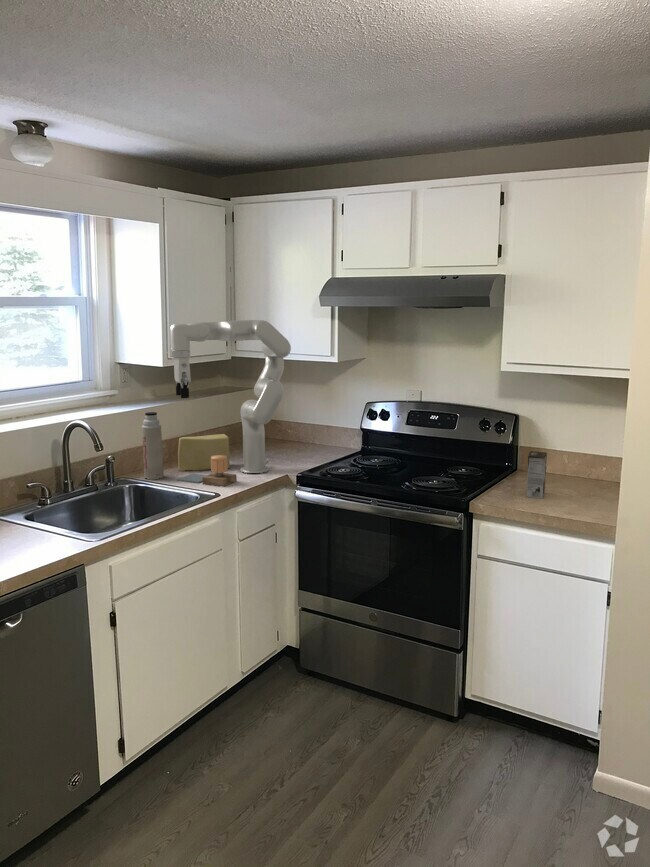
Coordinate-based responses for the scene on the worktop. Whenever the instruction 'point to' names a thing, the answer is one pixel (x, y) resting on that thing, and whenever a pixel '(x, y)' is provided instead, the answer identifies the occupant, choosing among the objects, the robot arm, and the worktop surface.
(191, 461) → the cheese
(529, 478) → the coffee box
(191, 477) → the mat
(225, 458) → the cap
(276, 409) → the robot arm
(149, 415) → the thermos bottle
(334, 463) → the worktop surface
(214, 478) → the post stand
